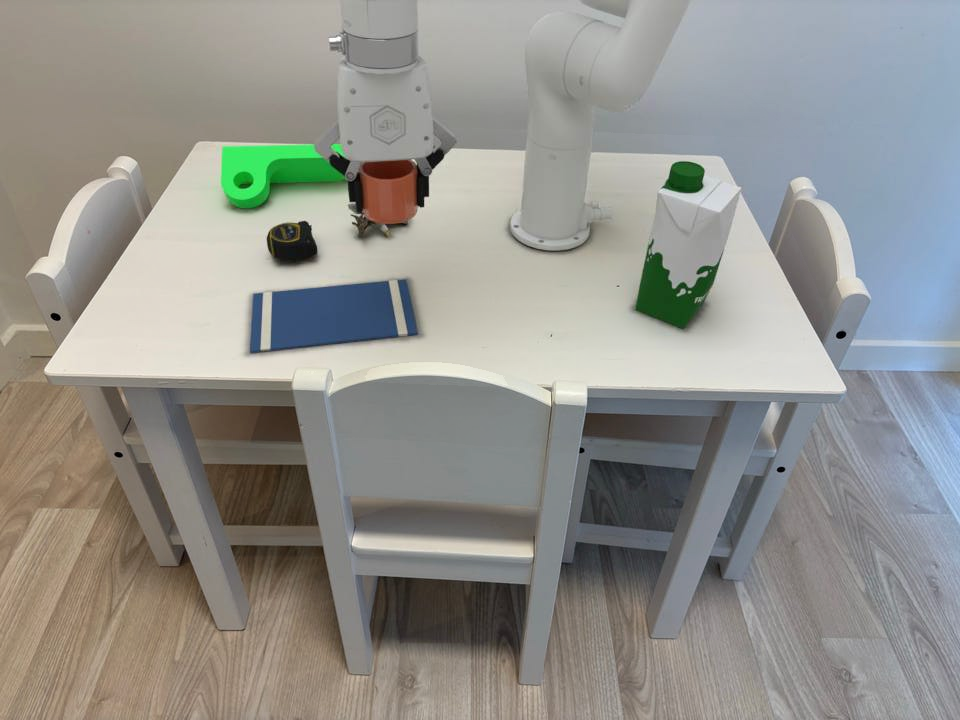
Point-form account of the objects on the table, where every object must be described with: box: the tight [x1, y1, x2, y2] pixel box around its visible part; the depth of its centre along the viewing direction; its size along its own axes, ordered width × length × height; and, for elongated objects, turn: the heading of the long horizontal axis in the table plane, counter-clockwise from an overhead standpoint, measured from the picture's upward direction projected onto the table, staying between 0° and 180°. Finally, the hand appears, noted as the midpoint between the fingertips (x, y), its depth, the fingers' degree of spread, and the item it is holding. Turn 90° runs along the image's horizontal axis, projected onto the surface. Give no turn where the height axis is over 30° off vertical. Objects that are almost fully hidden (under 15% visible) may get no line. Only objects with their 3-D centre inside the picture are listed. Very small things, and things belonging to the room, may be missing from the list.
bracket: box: [220, 143, 346, 210], centre depth 114 cm, size 20×10×7 cm
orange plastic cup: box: [359, 159, 419, 225], centre depth 81 cm, size 7×7×6 cm
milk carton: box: [635, 160, 743, 330], centre depth 88 cm, size 9×9×20 cm
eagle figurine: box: [347, 202, 409, 238], centre depth 106 cm, size 8×7×9 cm
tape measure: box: [266, 220, 318, 263], centre depth 101 cm, size 7×7×4 cm
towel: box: [249, 278, 419, 354], centre depth 92 cm, size 21×12×1 cm, turn 102°
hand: (389, 203), depth 82 cm, fingers closed on orange plastic cup, 6 cm apart
